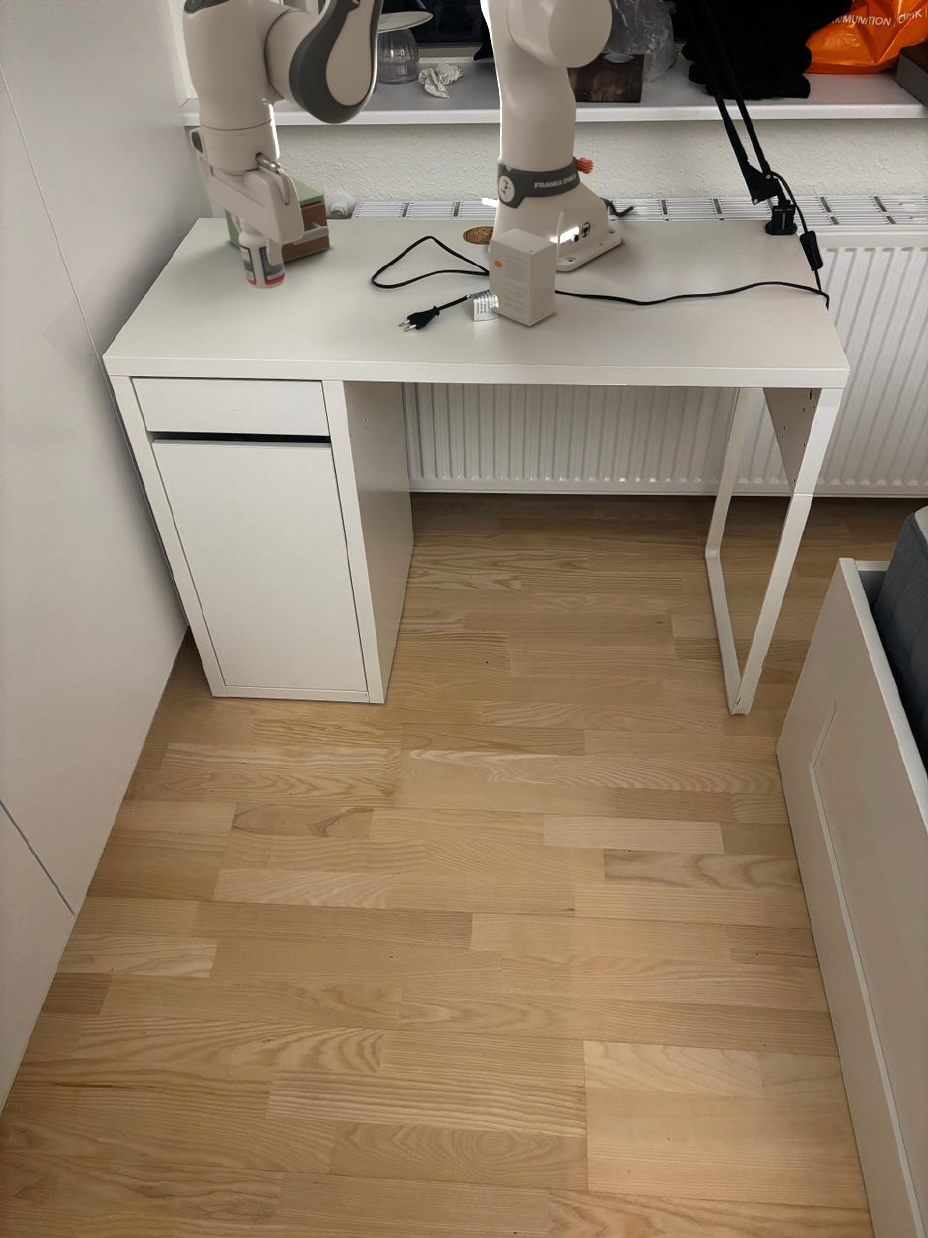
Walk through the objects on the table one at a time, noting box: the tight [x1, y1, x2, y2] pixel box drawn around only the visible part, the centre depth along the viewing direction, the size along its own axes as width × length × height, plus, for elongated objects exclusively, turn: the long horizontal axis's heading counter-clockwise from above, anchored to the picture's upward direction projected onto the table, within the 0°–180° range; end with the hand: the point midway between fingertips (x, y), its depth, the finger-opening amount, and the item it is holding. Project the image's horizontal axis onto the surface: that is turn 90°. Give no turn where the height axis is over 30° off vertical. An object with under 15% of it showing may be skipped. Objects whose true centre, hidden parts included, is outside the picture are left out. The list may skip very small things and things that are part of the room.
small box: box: [488, 229, 557, 327], centre depth 131 cm, size 8×6×10 cm
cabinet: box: [224, 173, 330, 263], centre depth 149 cm, size 13×12×9 cm
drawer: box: [281, 202, 331, 260], centre depth 147 cm, size 16×10×7 cm, turn 38°
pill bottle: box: [239, 217, 287, 290], centre depth 122 cm, size 5×5×9 cm
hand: (261, 254), depth 123 cm, fingers closed on pill bottle, 5 cm apart
